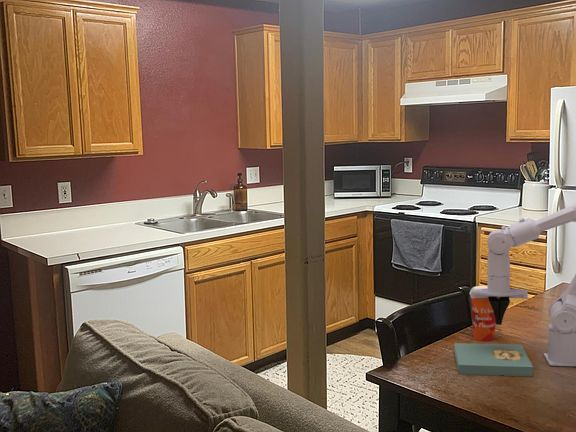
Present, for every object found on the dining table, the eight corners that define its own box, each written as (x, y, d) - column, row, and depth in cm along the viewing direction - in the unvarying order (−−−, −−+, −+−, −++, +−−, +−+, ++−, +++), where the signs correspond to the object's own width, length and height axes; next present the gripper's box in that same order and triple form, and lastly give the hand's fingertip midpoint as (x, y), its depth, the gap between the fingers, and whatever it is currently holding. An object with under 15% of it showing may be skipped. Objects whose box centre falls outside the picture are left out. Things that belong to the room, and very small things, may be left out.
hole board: (521, 353, 170) (521, 344, 170) (532, 376, 155) (532, 367, 154) (454, 351, 174) (454, 343, 173) (458, 374, 158) (458, 364, 158)
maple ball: (510, 349, 164) (500, 350, 163) (515, 358, 162) (505, 359, 161) (506, 357, 166) (496, 357, 165) (511, 366, 163) (501, 367, 163)
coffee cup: (468, 341, 181) (468, 291, 179) (471, 332, 189) (470, 284, 187) (498, 343, 178) (498, 293, 176) (499, 334, 186) (500, 286, 184)
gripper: (524, 271, 168) (523, 319, 170) (469, 271, 171) (469, 318, 173) (529, 277, 161) (528, 327, 163) (471, 277, 164) (471, 326, 166)
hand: (498, 323), depth 167 cm, fingers closed
